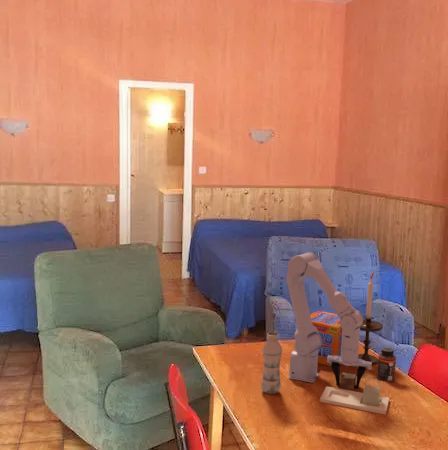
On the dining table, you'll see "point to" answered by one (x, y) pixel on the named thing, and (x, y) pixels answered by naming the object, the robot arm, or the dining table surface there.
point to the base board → (352, 400)
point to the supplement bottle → (386, 365)
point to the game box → (328, 334)
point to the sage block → (371, 395)
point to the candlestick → (369, 326)
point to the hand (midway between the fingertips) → (347, 385)
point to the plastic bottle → (271, 364)
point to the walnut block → (347, 380)
